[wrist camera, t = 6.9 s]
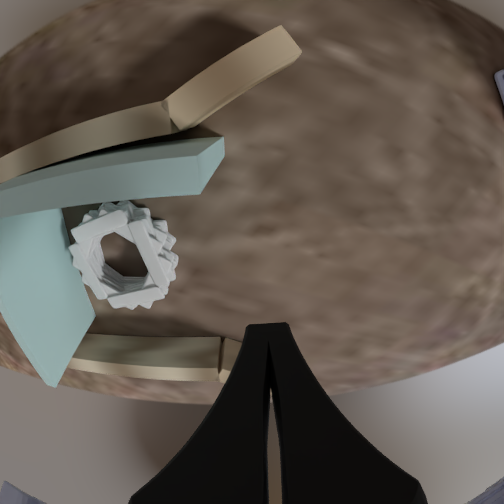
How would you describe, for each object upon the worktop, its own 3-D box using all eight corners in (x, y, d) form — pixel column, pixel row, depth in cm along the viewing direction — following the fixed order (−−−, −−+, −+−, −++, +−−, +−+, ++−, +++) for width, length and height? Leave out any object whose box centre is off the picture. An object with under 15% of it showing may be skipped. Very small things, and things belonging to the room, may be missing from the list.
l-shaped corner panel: (87, 314, 19) (46, 384, 12) (44, 165, 14) (-39, 204, 7) (235, 320, 19) (230, 414, 12) (223, 136, 13) (196, 155, 7)
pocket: (290, 42, 11) (299, 25, 8) (295, 369, 21) (299, 398, 19) (-8, 128, 12) (-35, 136, 9) (77, 362, 22) (66, 384, 19)
